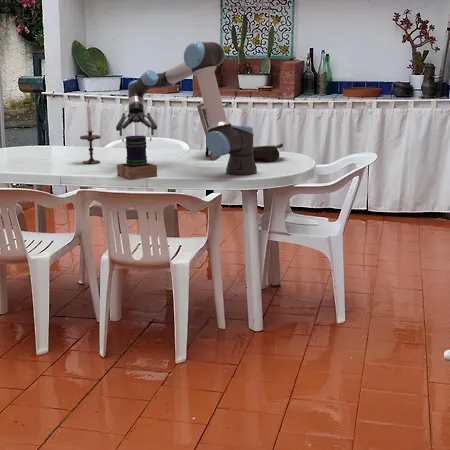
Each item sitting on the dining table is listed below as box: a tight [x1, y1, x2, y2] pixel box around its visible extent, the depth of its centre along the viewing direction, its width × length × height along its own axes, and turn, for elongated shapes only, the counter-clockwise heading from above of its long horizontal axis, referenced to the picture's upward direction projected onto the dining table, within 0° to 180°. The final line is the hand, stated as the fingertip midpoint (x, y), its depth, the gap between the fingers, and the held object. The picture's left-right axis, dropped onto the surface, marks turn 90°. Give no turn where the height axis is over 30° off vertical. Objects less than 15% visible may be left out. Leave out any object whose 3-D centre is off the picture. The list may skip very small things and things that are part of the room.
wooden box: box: [116, 162, 158, 181], centre depth 361 cm, size 14×14×6 cm
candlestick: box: [79, 97, 102, 165], centre depth 398 cm, size 11×11×35 cm
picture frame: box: [196, 102, 222, 161], centre depth 419 cm, size 33×10×30 cm, turn 168°
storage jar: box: [125, 135, 148, 167], centre depth 359 cm, size 10×10×15 cm
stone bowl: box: [253, 143, 284, 163], centre depth 406 cm, size 25×25×9 cm
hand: (136, 140), depth 368 cm, fingers open, 13 cm apart
